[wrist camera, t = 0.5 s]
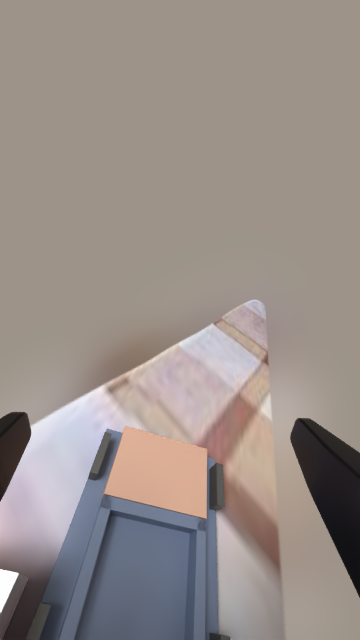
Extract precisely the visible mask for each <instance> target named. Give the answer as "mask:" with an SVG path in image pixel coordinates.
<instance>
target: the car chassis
mask: <svg viewBox="0 0 360 640" xmlns="http://www.w3.org/2000/svg"><path fill="white" fill-rule="evenodd" d="M222 507H224V485H223V465H222V464H219V463H216V464H215V459H213V458H209V457H207V449H205V448H201V447H198V446H194V445H191V444H187V443H184V442H180V441H177V440H173V439H170V438H166V437H163V436H159V435H156V434H152V433H149V432H145V431H142V430H138V429H135V428H131V427H128V426H125V428H124V431H123V433H120V432H117V431H113V430H110V429H107V430H106V432H105V434H104V436H103V439H102V442H101V444H100V447H99V449H98V452H97V455H96V457H95V460H94V462H93V465H92V468H91V470H90V473H89V477H88V480H87V482H86V485H85V488H84V490H83V493H82V496H81V498H80V501H79V503H78V506H77V509H76V511H75V514H74V517H73V519H72V522H71V524H70V527H69V530H68V532H67V535H66V538H65V540H64V543H63V545H62V548H61V551H60V553H59V556H58V559H57V561H56V564H55V567H54V569H53V572H52V574H51V577H50V580H49V582H48V585H47V588H46V590H45V593H44V595H43V598H42V601H41V603H40V604H39V606H38V609H37V611H36V614H35V617H34V619H33V622H32V624H31V627H30V630H29V632H28V635H27V637H26V640H230V637H228V636H224V635H220V634H218V598H217V546H216V510H218V509H220V508H222Z"/></svg>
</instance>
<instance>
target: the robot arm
mask: <svg viewBox="0 0 360 640" xmlns="http://www.w3.org/2000/svg"><path fill="white" fill-rule="evenodd" d="M30 437H31V428H30V423H29V419H28V415H27V413H25V412H11V413H9V414H7V415H6V416H4V417H2V418H1V419H0V501H1V499H2V497H3V496H4V494H5V492H6V490H7V488H8V485H9V483H10V481H11V479H12V477H13V475H14V472H15V470H16V468H17V466H18V464H19V462H20V459H21V457H22V455H23V453H24V451H25V448H26V446H27V444H28V442H29V440H30ZM290 439H291V443H292V446H293V448H294V451H295V454H296V457H297V459H298V462H299V465H300V467H301V470H302V472H303V475H304V478H305V481H306V483H307V486H308V488H309V491H310V493H311V495H312V497H313V500H314V502H315V504H316V506H317V508H318V510H319V512H320V514H321V517H322V519H323V521H324V523H325V525H326V527H327V529H328V531H329V534H330V536H331V538H332V540H333V542H334V544H335V546H336V548H337V550H338V553H339V555H340V557H341V559H342V561H343V563H344V565H345V567H346V569H347V572H348V574H349V576H350V578H351V580H352V582H353V584H354V586H355V589H356V590H357V593H358V595H359V597H360V453H359V452H358V451H356V450H355V449H353V448H352V447H351V446H349V445H348V444H346V443H345V442H343V441H342V440H340V439H339V438H337V437H336V436H335V435H333V434H332V433H330V432H329V431H327V430H326V429H324V428H323V427H321V426H320V425H319V424H317V423H316V422H314V421H313V420H311V419H309V418H298V419H297V420H296V421H295V424H294V427H293V429H292V432H291V437H290Z"/></svg>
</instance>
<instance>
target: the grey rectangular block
mask: <svg viewBox="0 0 360 640" xmlns="http://www.w3.org/2000/svg"><path fill="white" fill-rule="evenodd" d="M27 581H28V578H26V577H25V576H23V575H21V574H20V573H17V572H11V571H6V570H1V569H0V640H2V639H3V636H4V634H5V632H6V630H7V627H8V625H9V623H10V620H11V618H12V616H13V613H14V611H15V609H16V606H17V604H18V602H19V599H20V597H21V595H22V593H23V590H24V588H25V586H26V583H27Z"/></svg>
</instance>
